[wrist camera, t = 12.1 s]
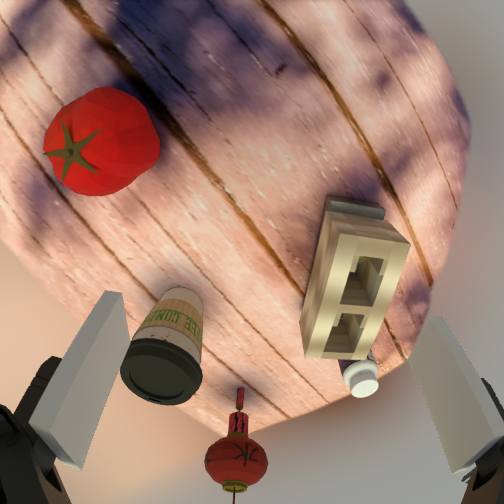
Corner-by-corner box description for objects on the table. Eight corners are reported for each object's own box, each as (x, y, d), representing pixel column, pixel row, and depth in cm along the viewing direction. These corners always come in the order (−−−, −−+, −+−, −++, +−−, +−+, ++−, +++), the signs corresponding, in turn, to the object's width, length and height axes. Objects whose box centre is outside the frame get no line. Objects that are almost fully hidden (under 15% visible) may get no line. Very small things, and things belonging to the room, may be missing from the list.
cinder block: (325, 210, 35) (339, 233, 29) (387, 220, 36) (410, 244, 29) (299, 322, 42) (304, 357, 36) (353, 326, 42) (365, 359, 36)
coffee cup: (222, 285, 43) (207, 365, 29) (208, 337, 47) (193, 416, 33) (153, 268, 42) (113, 338, 28) (147, 321, 46) (115, 394, 32)
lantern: (224, 366, 50) (204, 541, 22) (276, 381, 51) (281, 547, 24) (207, 396, 53) (185, 547, 26) (254, 409, 55) (251, 555, 28)
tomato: (160, 192, 37) (117, 232, 25) (78, 167, 36) (15, 196, 24) (186, 101, 33) (148, 97, 21) (97, 82, 31) (32, 78, 19)
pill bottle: (332, 357, 48) (343, 402, 40) (337, 332, 46) (350, 378, 37) (363, 354, 48) (378, 398, 39) (369, 330, 46) (387, 374, 37)
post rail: (327, 194, 37) (339, 211, 31) (378, 203, 37) (398, 221, 31) (302, 304, 44) (308, 334, 38) (348, 308, 44) (359, 337, 38)
